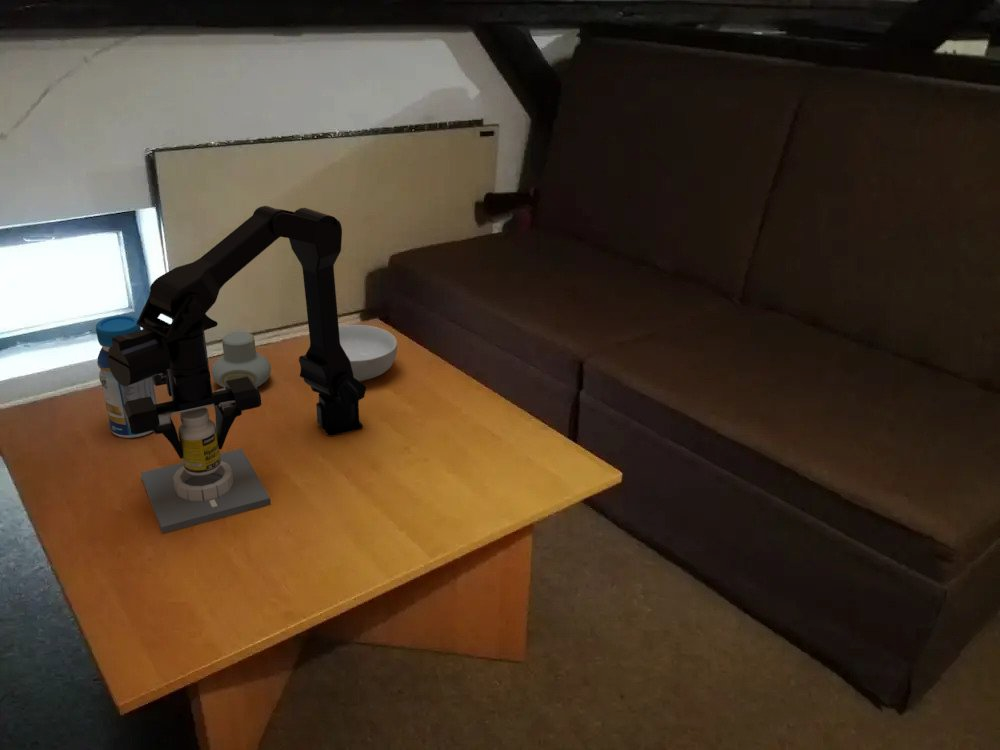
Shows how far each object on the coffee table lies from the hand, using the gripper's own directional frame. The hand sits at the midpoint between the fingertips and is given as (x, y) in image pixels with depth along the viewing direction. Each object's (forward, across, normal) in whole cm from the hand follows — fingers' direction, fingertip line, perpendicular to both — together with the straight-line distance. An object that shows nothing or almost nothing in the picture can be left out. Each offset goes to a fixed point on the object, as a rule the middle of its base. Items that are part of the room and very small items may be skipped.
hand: (200, 452), depth 133 cm
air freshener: (+8, -15, -33) cm, 37 cm away
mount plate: (+7, 0, 0) cm, 7 cm away
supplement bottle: (+3, 0, 0) cm, 3 cm away
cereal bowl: (+8, -36, -28) cm, 46 cm away
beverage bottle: (+7, +6, -25) cm, 27 cm away
